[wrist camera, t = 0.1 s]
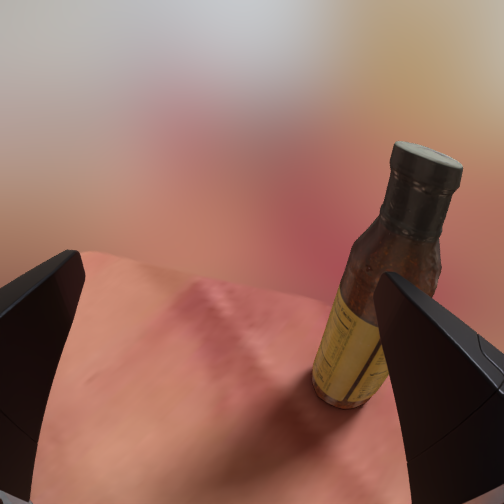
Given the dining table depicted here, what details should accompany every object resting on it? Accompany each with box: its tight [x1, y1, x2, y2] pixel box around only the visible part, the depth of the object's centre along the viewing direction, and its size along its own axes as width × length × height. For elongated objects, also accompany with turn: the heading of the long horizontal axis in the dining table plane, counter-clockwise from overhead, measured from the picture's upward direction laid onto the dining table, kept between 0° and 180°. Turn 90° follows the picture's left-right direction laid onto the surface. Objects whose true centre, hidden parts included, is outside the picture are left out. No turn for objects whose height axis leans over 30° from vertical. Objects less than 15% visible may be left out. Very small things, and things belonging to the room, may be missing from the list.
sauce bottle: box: [312, 141, 463, 409], centre depth 18 cm, size 7×6×20 cm
